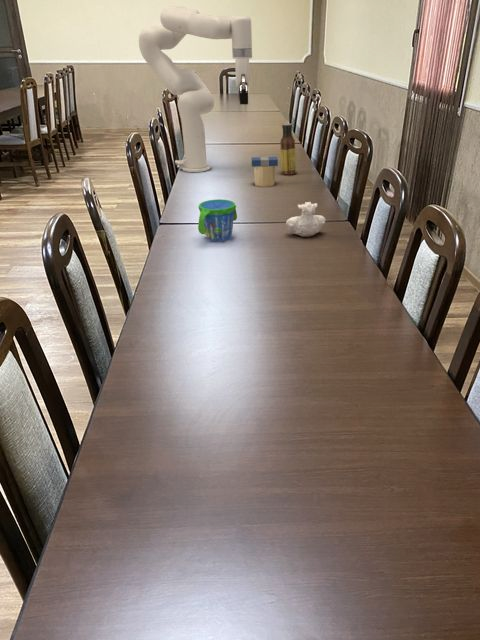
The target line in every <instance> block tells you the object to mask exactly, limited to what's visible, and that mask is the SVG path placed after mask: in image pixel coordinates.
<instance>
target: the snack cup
mask: <svg viewBox="0 0 480 640" xmlns="http://www.w3.org/2000/svg"><path fill="white" fill-rule="evenodd" d="M197 208H198V210H199V217H198V224H197V230H198V233H199V234H200V235H205V237H206V238H207V240H209V241H211V242H225V241H228V240H230V239H232V236H233V228H234V222H235V221H237V219H238V213H237V205H236V202H235V201H233V200H230V199H221V198H220V199H219V198H217V199H208V200H205V201H202V202H201V203H199V204H198V207H197Z"/></svg>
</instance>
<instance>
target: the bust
mask: <svg viewBox="0 0 480 640" xmlns="http://www.w3.org/2000/svg"><path fill="white" fill-rule="evenodd" d="M297 208H298V210H299V209H300V210H301V213H300V214H301V215H298V216H292V217H290V218H288V219H287V220H286V221H285V226H286V227H285V228H286V231H287V232H288V233H289V234H291V235H297V236H300V237H304V238H309V237H313V236H314V235H316V234H318V233H319V232H320V231H321V230H322V229H323V226H324V225H325V223H326V217H324V215H321V214H316V209H317V208H318V203H316V202H315V203H312V202H311V201H305V202H304V203H301V204H297Z"/></svg>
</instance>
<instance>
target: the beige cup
mask: <svg viewBox="0 0 480 640" xmlns="http://www.w3.org/2000/svg"><path fill="white" fill-rule="evenodd" d="M275 169H276V166H258V167H253V174H254V186H256V187H263V188H267V187H272V186H275V185H276V183H275V182H276V178H275V177H276V173H275V171H276V170H275Z"/></svg>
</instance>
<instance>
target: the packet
mask: <svg viewBox="0 0 480 640" xmlns="http://www.w3.org/2000/svg"><path fill="white" fill-rule="evenodd" d="M278 163H279V160H278V156H259V157H258V156H256V157H251V167H253V168H254V167H258V166H275V167H278V166H279V164H278Z"/></svg>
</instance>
